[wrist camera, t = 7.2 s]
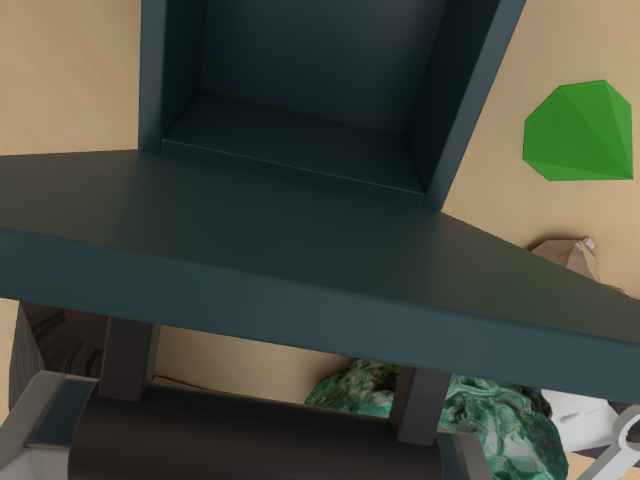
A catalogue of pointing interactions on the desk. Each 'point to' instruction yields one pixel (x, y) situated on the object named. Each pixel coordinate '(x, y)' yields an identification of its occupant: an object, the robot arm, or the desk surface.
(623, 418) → the wrench
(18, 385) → the mask
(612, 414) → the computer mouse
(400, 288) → the cooler lid
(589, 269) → the mouse figurine
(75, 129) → the desk surface
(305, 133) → the box
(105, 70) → the desk surface
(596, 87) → the gemstone
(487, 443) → the mineral
